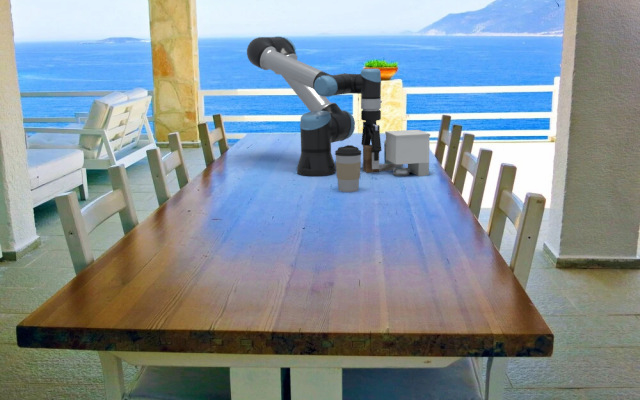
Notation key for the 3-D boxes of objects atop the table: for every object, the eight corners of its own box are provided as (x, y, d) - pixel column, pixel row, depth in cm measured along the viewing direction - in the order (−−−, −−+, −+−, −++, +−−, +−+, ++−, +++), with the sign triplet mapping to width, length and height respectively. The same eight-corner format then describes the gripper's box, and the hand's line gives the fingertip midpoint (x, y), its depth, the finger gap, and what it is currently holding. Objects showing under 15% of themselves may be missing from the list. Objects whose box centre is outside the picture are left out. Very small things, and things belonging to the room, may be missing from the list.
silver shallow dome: (397, 176, 258) (397, 170, 257) (391, 174, 263) (391, 167, 263) (412, 175, 259) (412, 169, 259) (405, 173, 265) (405, 166, 264)
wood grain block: (366, 172, 266) (366, 147, 264) (363, 170, 271) (363, 145, 268) (402, 170, 269) (402, 145, 267) (398, 168, 274) (398, 143, 271)
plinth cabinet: (395, 177, 255) (395, 135, 252) (385, 171, 267) (385, 131, 263) (429, 175, 258) (430, 133, 255) (417, 169, 270) (418, 129, 266)
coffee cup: (359, 193, 232) (359, 149, 228) (333, 192, 233) (332, 148, 230) (363, 187, 240) (363, 144, 237) (337, 186, 242) (337, 144, 239)
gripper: (390, 112, 253) (389, 171, 258) (371, 106, 275) (371, 160, 280) (370, 113, 251) (370, 172, 256) (353, 107, 273) (353, 161, 278)
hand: (371, 166), depth 268 cm, fingers open, 11 cm apart
